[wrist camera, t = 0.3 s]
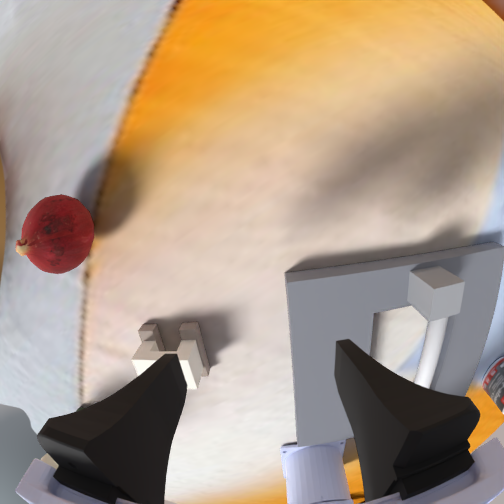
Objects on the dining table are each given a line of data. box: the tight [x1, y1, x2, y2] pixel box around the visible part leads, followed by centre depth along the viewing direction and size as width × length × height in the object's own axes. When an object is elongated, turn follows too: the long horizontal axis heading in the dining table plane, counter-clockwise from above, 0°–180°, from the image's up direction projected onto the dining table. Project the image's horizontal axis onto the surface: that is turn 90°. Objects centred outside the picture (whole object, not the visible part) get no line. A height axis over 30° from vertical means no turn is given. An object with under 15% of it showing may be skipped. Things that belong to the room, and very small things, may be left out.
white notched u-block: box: [131, 322, 210, 389], centre depth 21 cm, size 5×5×4 cm
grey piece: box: [285, 242, 504, 447], centre depth 20 cm, size 20×22×6 cm
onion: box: [16, 194, 94, 274], centre depth 16 cm, size 6×6×8 cm
